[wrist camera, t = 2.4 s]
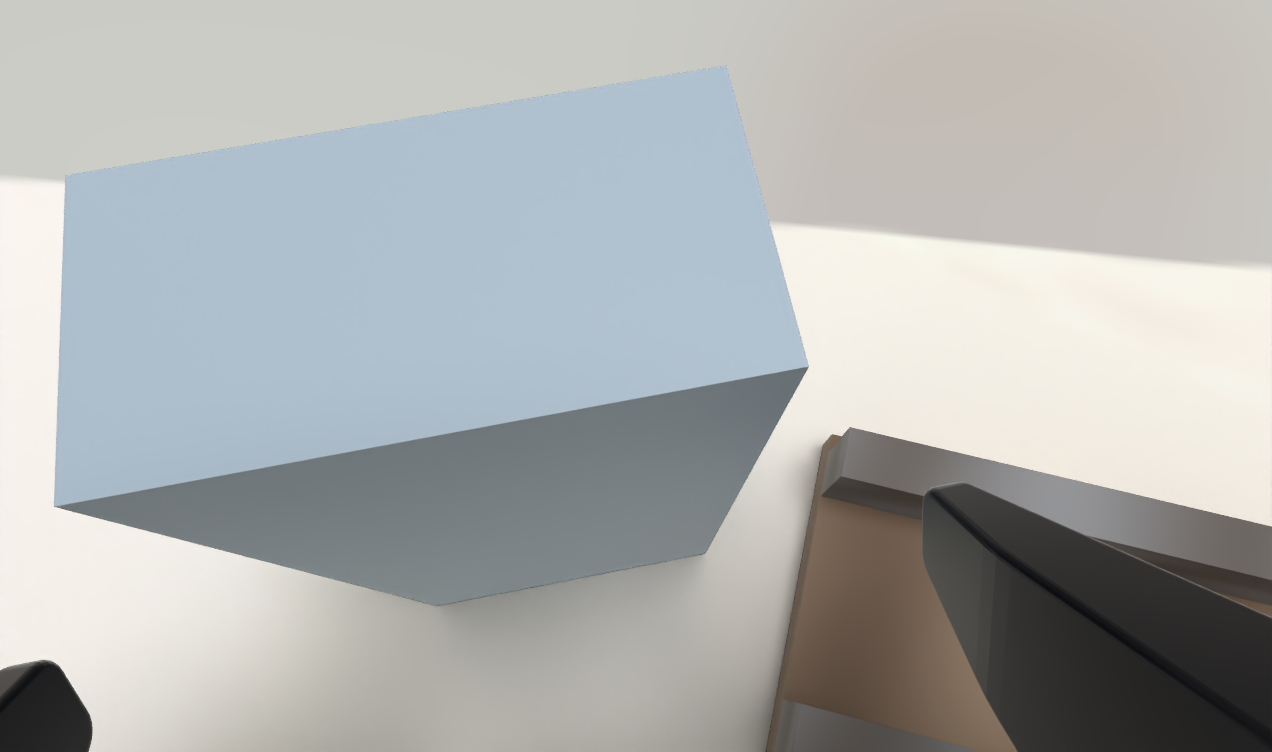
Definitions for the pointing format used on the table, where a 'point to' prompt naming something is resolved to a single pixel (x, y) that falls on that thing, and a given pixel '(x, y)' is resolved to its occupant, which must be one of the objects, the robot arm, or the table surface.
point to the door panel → (432, 341)
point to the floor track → (911, 610)
